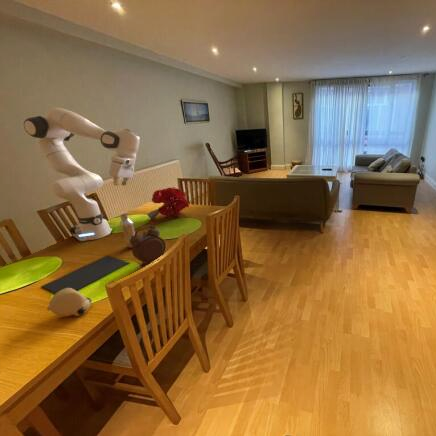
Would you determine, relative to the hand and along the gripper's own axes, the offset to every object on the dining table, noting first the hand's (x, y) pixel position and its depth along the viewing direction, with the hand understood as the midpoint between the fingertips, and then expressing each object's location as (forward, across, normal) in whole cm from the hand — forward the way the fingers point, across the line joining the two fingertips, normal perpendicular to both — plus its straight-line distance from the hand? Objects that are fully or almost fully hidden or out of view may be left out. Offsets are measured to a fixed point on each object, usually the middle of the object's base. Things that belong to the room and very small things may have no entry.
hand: (119, 185), depth 130 cm
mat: (+44, +18, +3) cm, 48 cm away
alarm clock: (+34, +14, +28) cm, 46 cm away
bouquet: (+19, -50, +18) cm, 57 cm away
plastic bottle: (+34, -6, +12) cm, 37 cm away
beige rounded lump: (+48, +45, +12) cm, 67 cm away
